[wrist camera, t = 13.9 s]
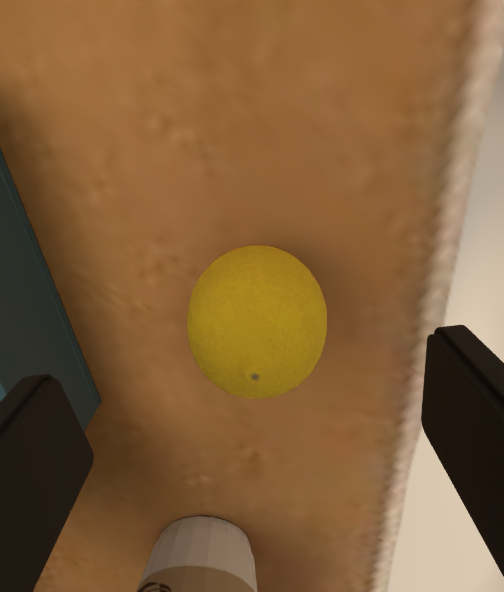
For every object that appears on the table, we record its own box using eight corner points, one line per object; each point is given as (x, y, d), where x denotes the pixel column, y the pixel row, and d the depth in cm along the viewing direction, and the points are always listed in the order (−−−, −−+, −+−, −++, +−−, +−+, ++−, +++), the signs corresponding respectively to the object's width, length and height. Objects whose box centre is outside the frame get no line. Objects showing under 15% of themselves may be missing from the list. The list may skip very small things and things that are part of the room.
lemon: (187, 244, 18) (135, 322, 10) (297, 211, 17) (326, 271, 10) (223, 338, 20) (201, 458, 12) (322, 312, 19) (362, 425, 12)
